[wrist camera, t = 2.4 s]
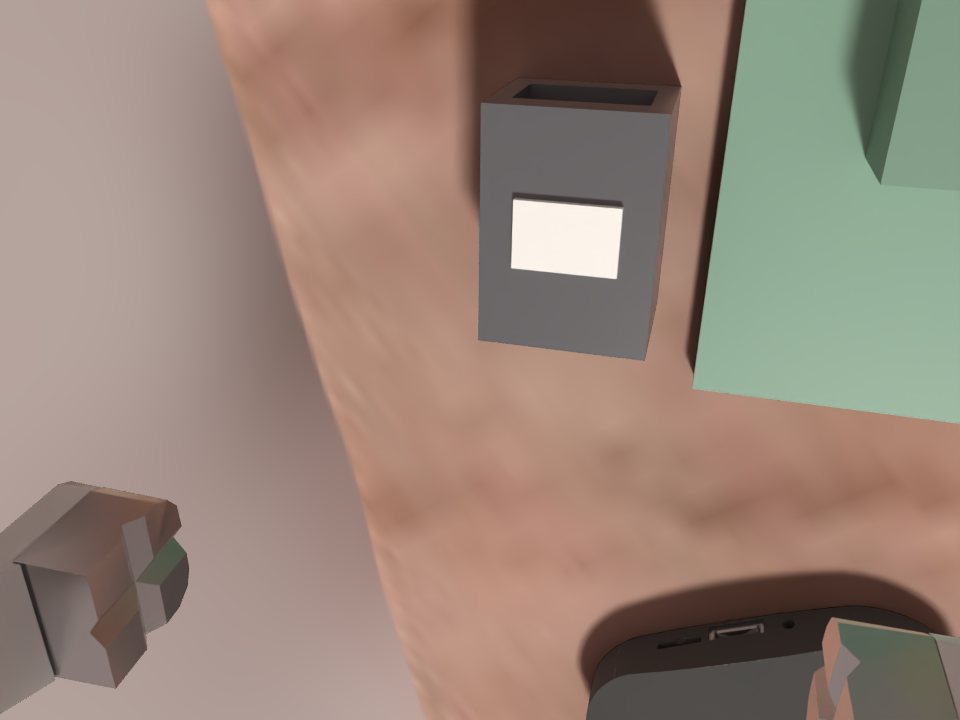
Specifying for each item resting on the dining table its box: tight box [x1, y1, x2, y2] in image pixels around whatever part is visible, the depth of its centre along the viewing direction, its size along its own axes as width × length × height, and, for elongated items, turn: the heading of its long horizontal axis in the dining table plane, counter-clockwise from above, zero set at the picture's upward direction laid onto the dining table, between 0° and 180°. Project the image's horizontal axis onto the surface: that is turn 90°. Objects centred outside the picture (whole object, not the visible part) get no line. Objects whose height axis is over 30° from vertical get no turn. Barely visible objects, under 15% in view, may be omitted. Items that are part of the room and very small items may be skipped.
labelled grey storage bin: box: [478, 78, 681, 361], centre depth 26 cm, size 7×5×5 cm
